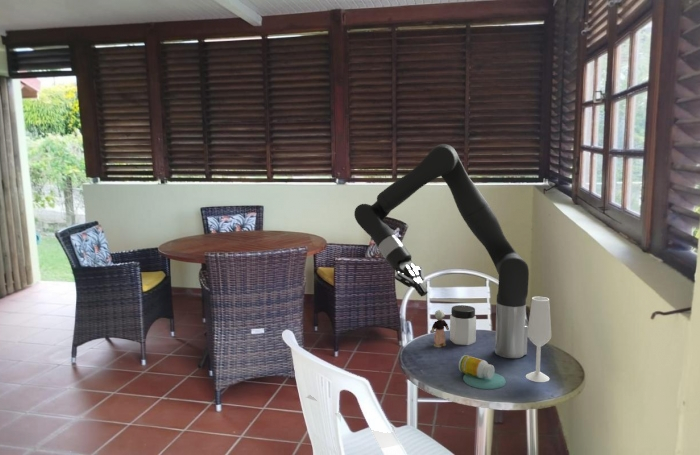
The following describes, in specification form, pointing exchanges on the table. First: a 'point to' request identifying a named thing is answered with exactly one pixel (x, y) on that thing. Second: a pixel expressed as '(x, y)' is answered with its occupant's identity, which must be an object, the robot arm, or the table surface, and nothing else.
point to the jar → (463, 325)
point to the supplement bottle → (476, 367)
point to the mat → (485, 381)
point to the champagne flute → (539, 332)
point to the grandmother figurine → (439, 329)
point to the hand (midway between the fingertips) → (424, 294)
